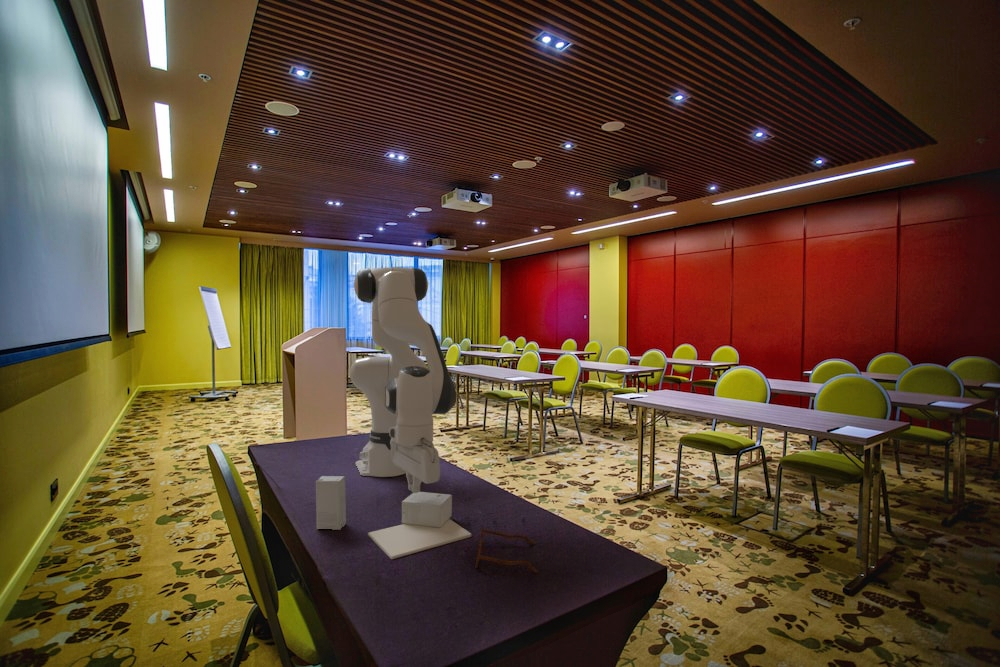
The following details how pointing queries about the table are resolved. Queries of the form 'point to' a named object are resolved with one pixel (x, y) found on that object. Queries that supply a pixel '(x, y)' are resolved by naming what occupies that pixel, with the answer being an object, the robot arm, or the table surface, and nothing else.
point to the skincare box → (330, 502)
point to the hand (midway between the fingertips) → (414, 491)
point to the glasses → (500, 559)
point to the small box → (427, 509)
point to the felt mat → (416, 537)
